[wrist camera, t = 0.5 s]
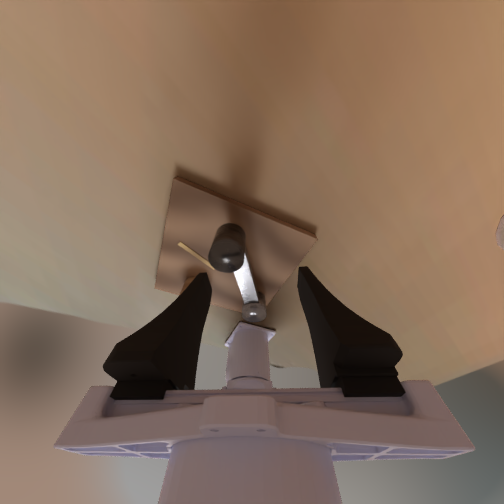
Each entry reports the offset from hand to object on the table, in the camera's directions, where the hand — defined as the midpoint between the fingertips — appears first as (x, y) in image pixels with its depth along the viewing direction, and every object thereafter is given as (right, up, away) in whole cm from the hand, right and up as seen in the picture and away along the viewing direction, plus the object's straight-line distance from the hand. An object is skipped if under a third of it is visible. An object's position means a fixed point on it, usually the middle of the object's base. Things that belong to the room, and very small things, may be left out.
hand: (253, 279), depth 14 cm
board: (-4, +1, +12) cm, 13 cm away
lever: (-1, 0, +11) cm, 11 cm away
